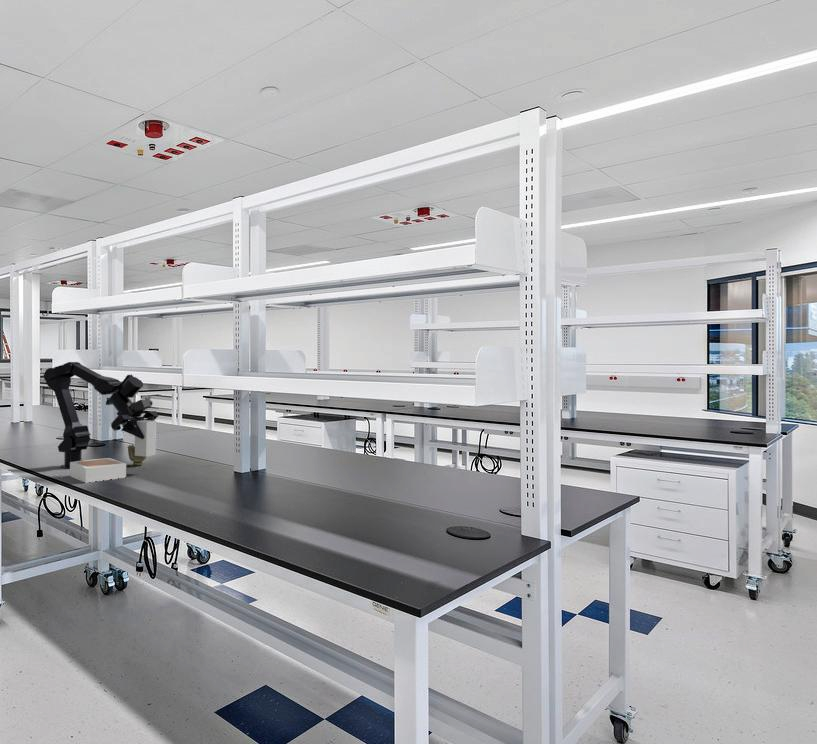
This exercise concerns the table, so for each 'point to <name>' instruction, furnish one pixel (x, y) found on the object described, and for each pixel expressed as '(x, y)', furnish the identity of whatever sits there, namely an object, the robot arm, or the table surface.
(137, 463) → the cup
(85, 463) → the trapdoor
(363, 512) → the table surface
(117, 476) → the trapdoor frame
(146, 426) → the stone pillar
